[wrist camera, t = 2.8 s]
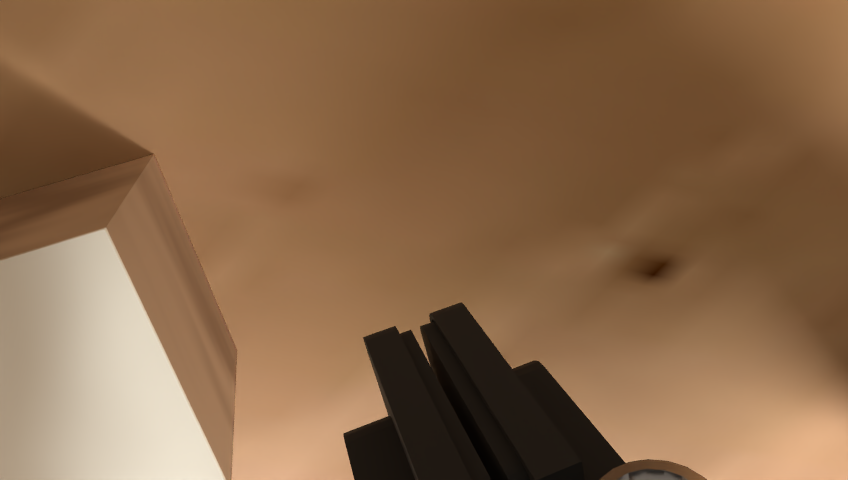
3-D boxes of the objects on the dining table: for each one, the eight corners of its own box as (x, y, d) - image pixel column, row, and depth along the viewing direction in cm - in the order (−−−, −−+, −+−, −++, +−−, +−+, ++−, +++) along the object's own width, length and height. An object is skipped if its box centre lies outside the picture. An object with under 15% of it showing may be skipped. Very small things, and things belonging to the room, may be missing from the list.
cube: (154, 153, 19) (104, 228, 13) (237, 349, 22) (230, 492, 15) (-95, 226, 18) (-286, 347, 12) (24, 421, 21) (-77, 606, 14)
